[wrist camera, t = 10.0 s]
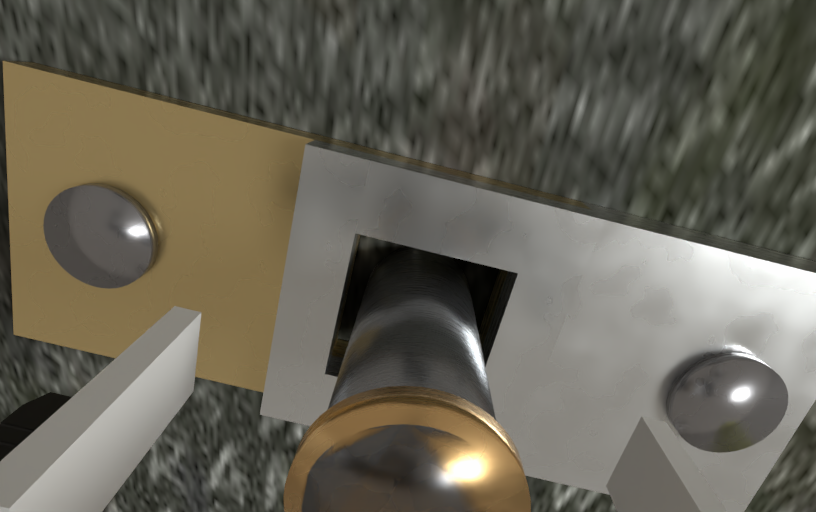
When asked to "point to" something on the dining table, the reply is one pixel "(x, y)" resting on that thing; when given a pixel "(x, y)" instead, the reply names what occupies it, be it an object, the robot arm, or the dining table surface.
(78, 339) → the link
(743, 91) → the dining table surface
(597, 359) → the link
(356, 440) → the pin
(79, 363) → the dining table surface
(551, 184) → the dining table surface
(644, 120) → the dining table surface
